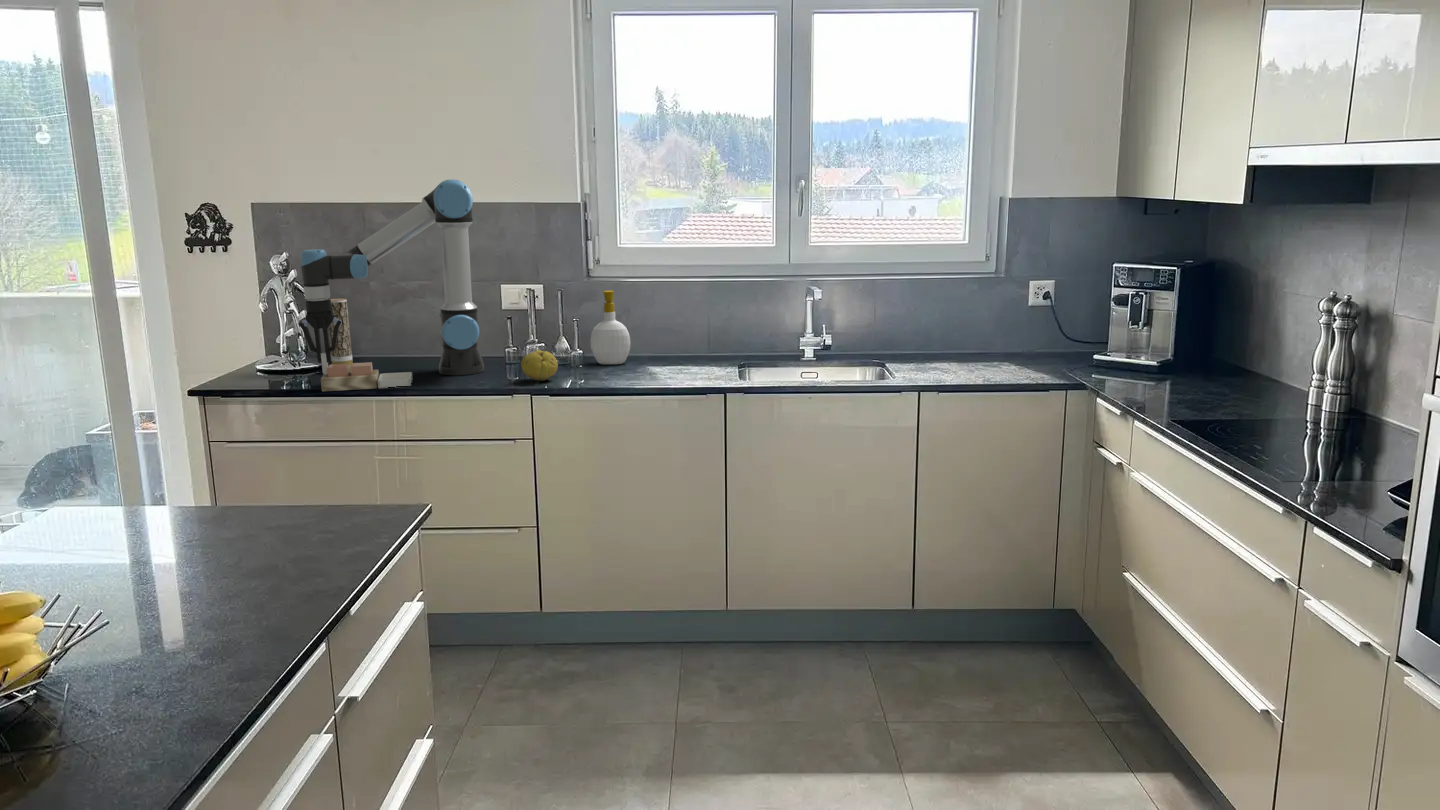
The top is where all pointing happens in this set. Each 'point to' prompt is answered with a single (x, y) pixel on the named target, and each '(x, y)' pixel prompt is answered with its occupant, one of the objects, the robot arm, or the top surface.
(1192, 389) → the top surface
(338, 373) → the tile
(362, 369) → the tile
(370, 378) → the board
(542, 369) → the fruit
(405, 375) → the tray
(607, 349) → the soap bottle
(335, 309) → the bark textured cylinder
